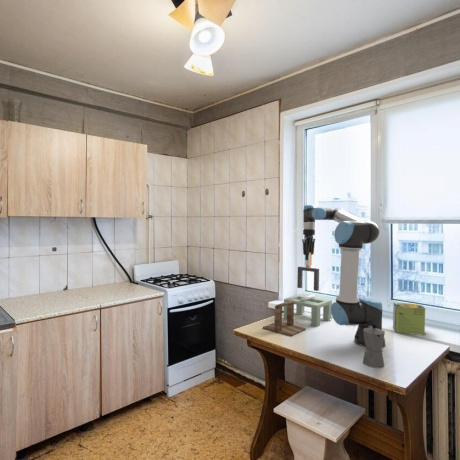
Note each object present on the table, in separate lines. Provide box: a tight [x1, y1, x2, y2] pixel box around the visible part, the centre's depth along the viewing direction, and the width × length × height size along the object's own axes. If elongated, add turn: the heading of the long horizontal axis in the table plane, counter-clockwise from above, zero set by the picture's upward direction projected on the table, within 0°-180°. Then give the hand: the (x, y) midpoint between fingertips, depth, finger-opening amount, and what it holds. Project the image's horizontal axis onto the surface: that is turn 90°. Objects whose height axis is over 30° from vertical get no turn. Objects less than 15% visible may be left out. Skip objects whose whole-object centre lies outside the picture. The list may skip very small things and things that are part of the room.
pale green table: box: [283, 293, 333, 328], centre depth 217 cm, size 20×24×15 cm
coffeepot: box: [362, 324, 386, 369], centre depth 151 cm, size 15×9×18 cm, turn 174°
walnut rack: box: [262, 300, 307, 338], centre depth 196 cm, size 16×20×16 cm
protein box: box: [392, 302, 426, 336], centre depth 196 cm, size 10×15×16 cm
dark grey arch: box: [296, 253, 320, 292], centre depth 217 cm, size 2×14×24 cm, turn 48°
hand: (308, 264), depth 216 cm, fingers closed on dark grey arch, 2 cm apart
